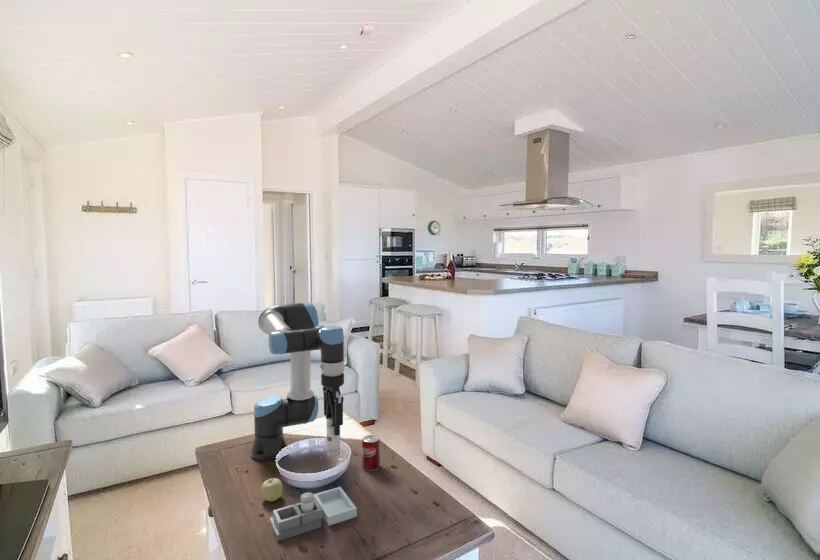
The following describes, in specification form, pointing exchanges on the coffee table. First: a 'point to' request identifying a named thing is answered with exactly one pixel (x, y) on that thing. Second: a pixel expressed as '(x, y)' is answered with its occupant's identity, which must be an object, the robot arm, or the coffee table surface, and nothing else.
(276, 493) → the fruit
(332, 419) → the robot arm
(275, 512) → the block
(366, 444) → the soda can
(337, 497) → the tray
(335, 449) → the cylinder
